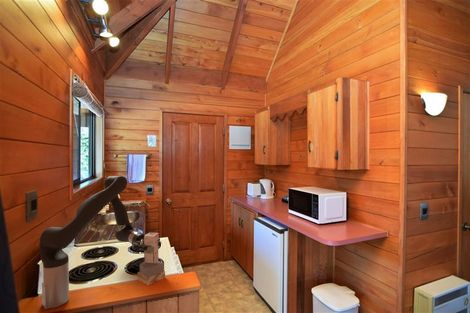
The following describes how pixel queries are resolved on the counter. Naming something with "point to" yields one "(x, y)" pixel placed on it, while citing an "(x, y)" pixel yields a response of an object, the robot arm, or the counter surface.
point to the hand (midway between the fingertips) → (153, 246)
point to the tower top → (151, 268)
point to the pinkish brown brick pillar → (151, 248)
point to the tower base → (152, 278)
